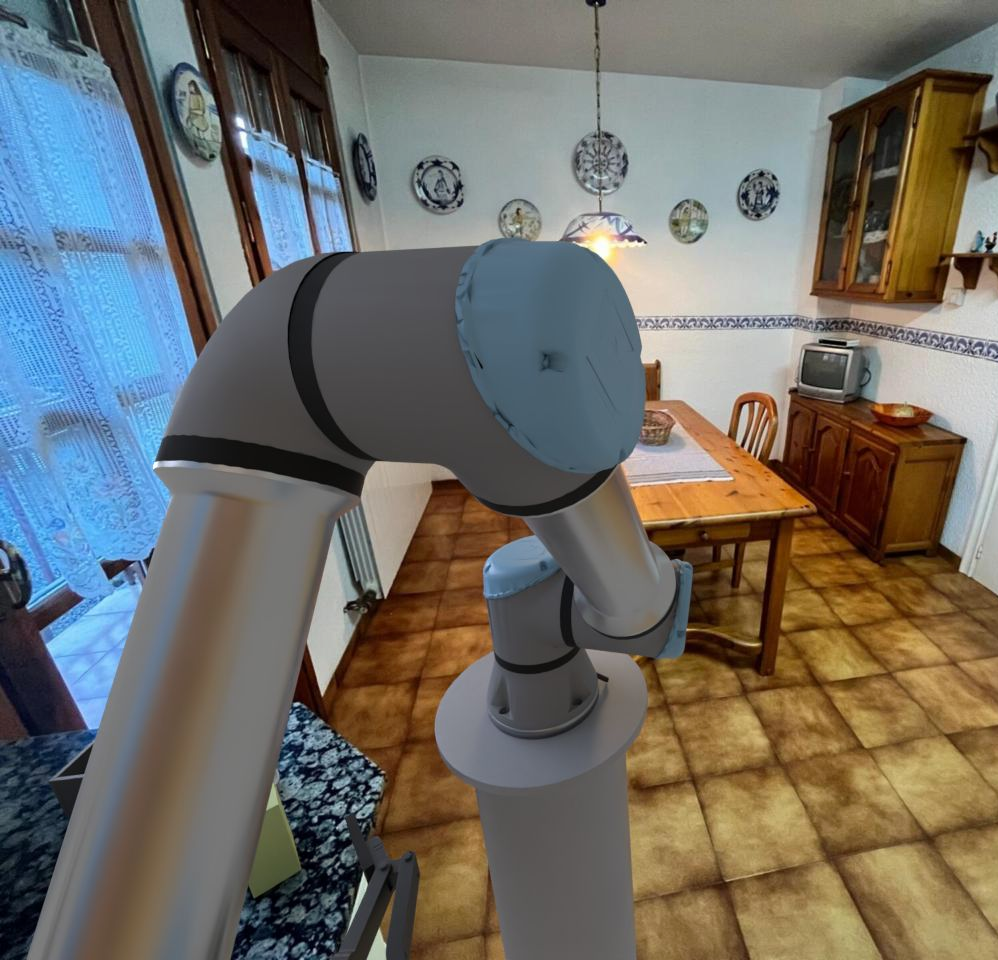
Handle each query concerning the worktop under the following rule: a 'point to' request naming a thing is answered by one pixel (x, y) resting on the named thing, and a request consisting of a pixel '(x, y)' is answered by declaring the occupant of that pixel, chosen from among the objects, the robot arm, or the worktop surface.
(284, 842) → the juice box
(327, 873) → the worktop surface
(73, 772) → the bin
